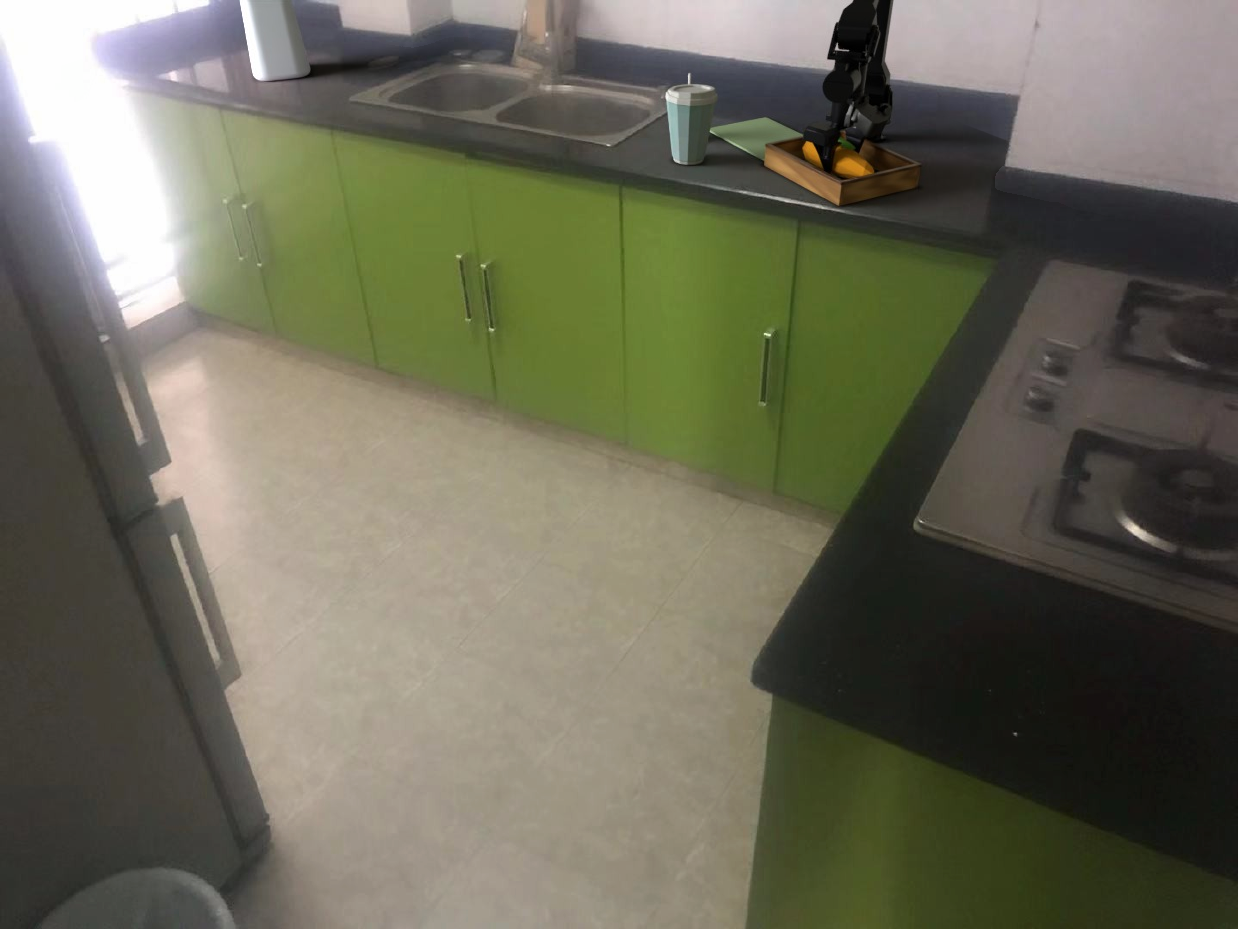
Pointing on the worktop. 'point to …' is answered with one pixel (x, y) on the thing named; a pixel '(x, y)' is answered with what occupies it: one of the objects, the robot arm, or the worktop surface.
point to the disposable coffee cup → (690, 121)
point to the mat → (754, 134)
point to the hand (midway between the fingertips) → (839, 168)
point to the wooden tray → (890, 179)
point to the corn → (840, 160)
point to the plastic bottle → (274, 40)
